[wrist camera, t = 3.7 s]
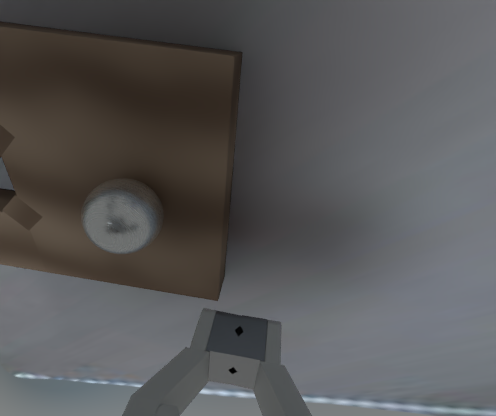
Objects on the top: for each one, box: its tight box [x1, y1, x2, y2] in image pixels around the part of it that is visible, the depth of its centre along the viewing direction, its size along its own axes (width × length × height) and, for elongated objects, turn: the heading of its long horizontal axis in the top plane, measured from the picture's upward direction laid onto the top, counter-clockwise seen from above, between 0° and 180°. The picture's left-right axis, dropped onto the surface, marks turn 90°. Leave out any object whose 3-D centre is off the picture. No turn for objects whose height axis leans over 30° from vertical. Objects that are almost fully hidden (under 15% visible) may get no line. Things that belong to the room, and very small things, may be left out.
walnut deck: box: [0, 22, 242, 301], centre depth 18 cm, size 16×22×2 cm
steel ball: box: [81, 178, 164, 254], centre depth 15 cm, size 4×4×4 cm
